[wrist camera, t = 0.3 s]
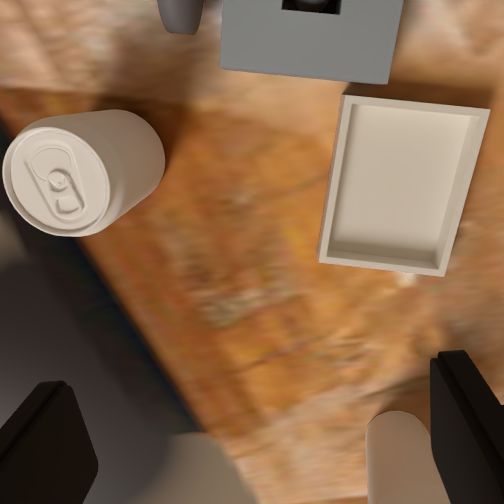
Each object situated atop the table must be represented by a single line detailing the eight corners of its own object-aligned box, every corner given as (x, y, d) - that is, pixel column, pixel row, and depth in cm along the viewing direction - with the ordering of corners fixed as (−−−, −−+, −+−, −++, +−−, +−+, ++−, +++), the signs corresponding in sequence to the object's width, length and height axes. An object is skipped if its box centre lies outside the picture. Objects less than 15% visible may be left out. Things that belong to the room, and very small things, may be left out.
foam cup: (441, 397, 45) (496, 510, 33) (438, 464, 49) (488, 590, 36) (349, 400, 46) (370, 511, 34) (352, 466, 50) (372, 589, 38)
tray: (341, 94, 36) (345, 95, 33) (477, 107, 35) (490, 109, 33) (316, 252, 41) (318, 262, 38) (435, 265, 40) (444, 276, 38)
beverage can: (150, 98, 37) (90, 103, 26) (178, 189, 40) (135, 229, 29) (65, 121, 38) (-27, 135, 27) (98, 208, 41) (26, 253, 30)
